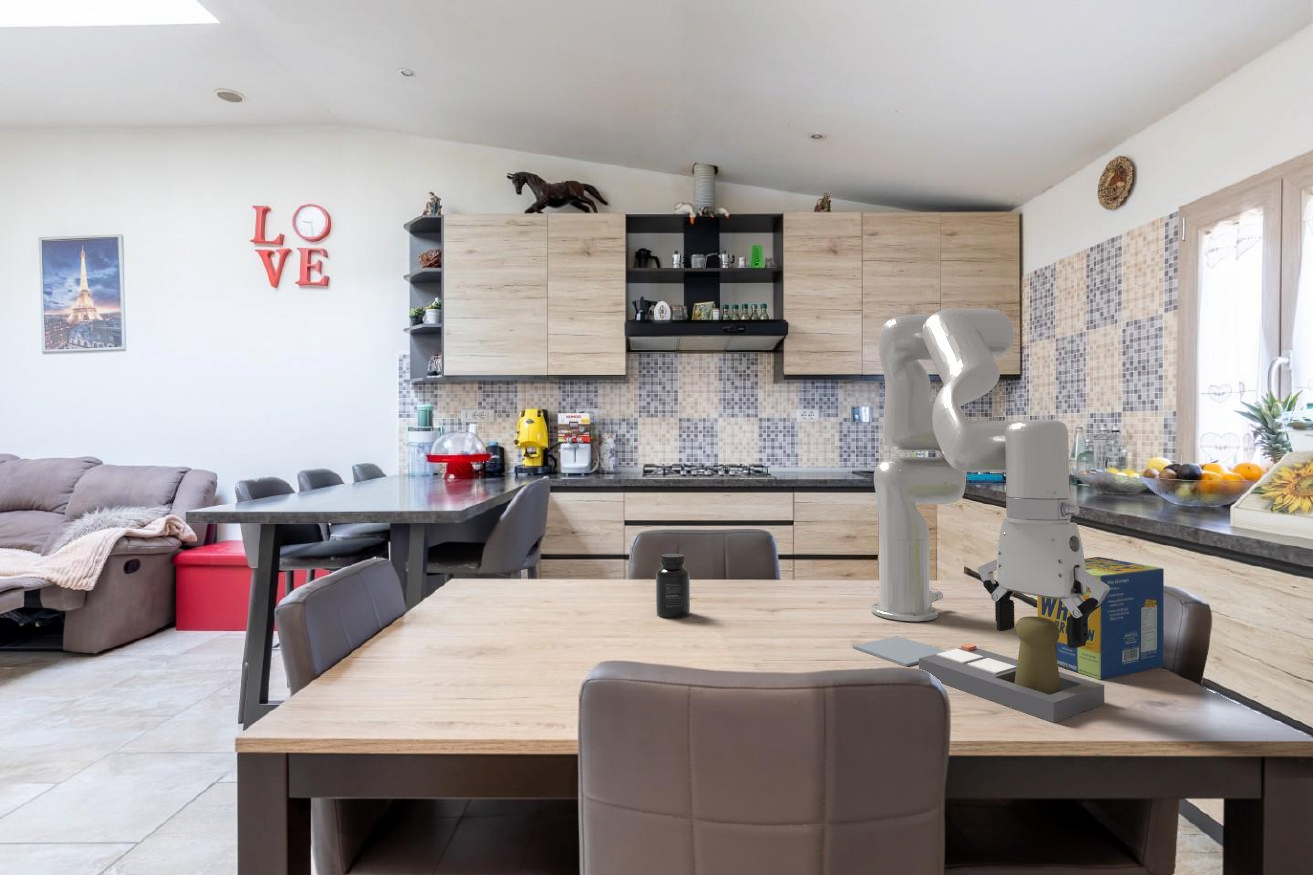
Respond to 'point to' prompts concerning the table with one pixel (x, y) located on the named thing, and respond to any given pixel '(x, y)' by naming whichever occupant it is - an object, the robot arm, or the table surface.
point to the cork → (1038, 655)
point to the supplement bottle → (672, 587)
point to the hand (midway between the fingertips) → (1039, 637)
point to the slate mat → (898, 650)
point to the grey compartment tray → (1010, 683)
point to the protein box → (1115, 621)
